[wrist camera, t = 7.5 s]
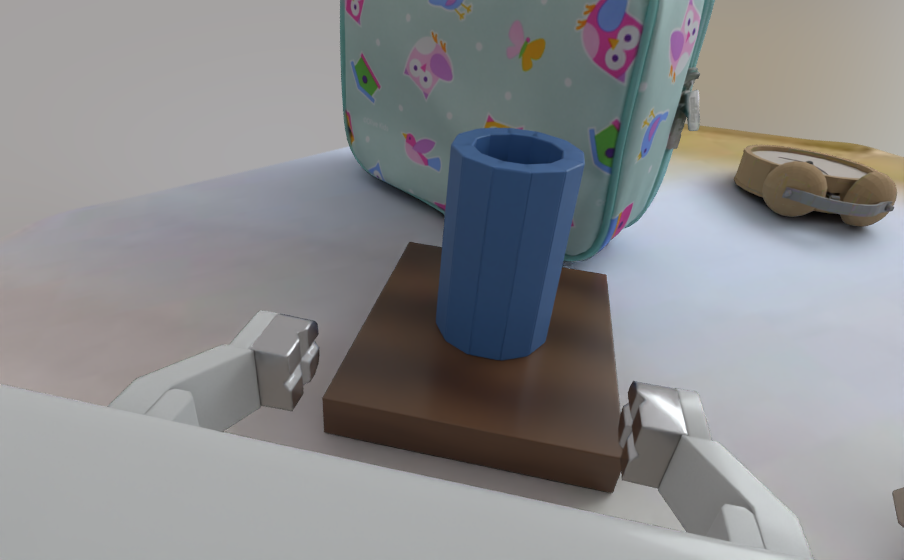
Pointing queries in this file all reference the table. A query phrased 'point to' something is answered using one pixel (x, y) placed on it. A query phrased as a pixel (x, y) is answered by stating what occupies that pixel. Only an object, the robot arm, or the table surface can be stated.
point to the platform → (484, 384)
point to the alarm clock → (815, 184)
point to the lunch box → (525, 91)
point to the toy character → (899, 504)
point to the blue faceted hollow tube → (505, 238)
